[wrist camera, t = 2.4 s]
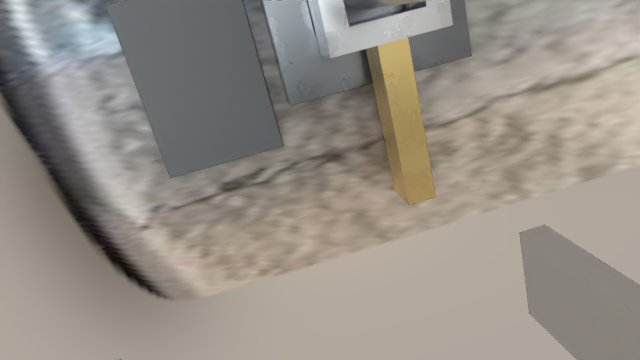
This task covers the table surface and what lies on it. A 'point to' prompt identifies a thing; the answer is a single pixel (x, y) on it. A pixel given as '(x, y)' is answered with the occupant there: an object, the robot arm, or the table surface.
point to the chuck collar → (389, 79)
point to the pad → (197, 80)
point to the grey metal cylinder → (377, 3)
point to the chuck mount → (353, 68)
